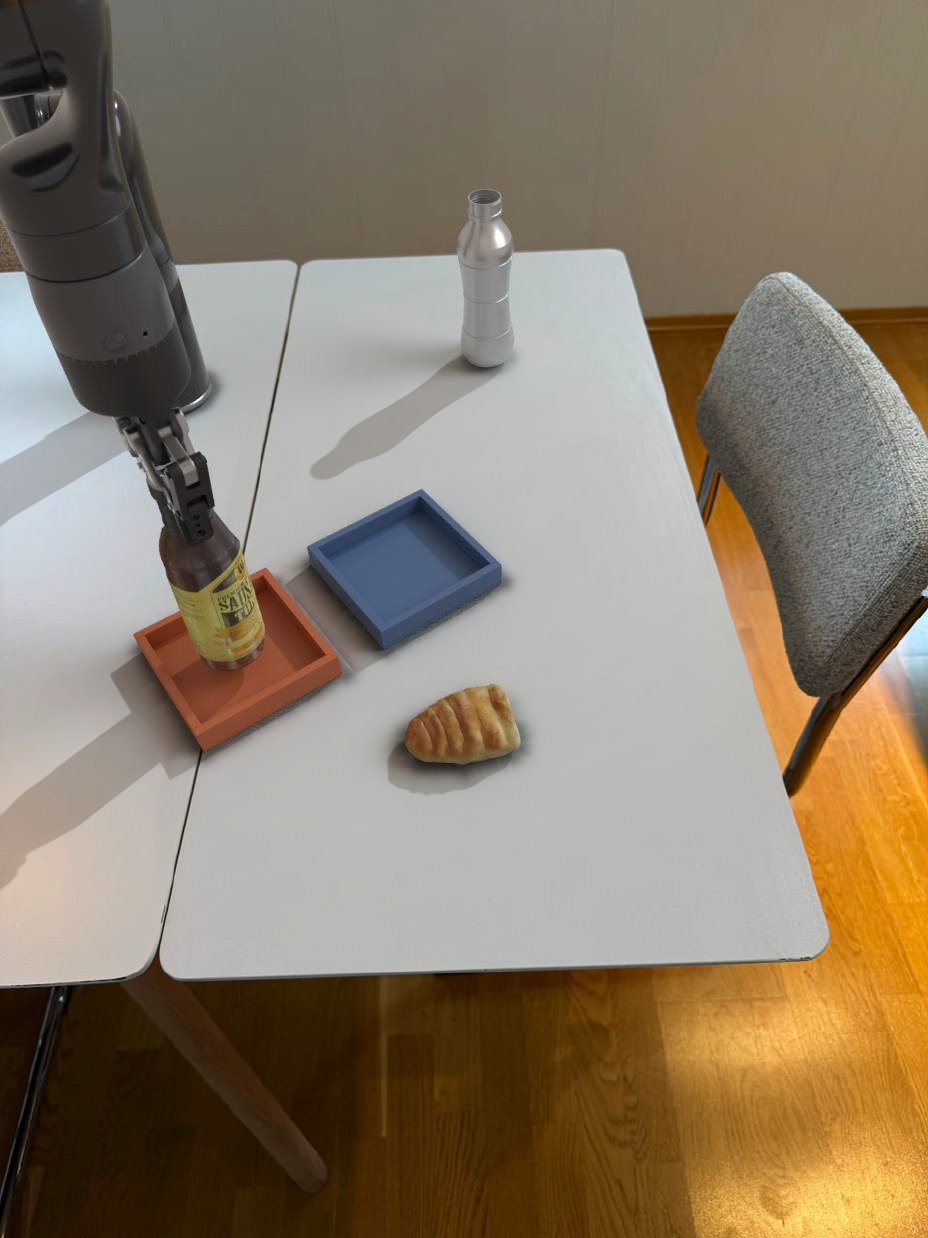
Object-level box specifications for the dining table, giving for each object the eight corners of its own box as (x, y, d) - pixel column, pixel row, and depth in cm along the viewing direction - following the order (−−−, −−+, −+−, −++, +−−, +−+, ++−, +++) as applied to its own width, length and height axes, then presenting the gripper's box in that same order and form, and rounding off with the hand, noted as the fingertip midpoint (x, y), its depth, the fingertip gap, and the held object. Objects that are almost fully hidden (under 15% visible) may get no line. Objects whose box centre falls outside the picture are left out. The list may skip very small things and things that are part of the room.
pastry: (418, 786, 73) (414, 761, 70) (396, 721, 77) (391, 695, 74) (526, 753, 75) (527, 727, 72) (499, 690, 79) (498, 664, 76)
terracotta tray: (141, 651, 83) (132, 633, 81) (271, 584, 88) (266, 566, 86) (204, 752, 76) (196, 735, 74) (342, 673, 81) (338, 656, 79)
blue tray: (310, 564, 89) (306, 546, 87) (423, 506, 94) (421, 488, 92) (383, 650, 82) (380, 632, 80) (502, 582, 87) (502, 564, 85)
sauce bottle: (254, 680, 77) (194, 513, 62) (187, 669, 78) (111, 503, 63) (279, 622, 82) (228, 452, 66) (215, 612, 82) (150, 443, 67)
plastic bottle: (523, 352, 111) (526, 189, 96) (495, 380, 108) (494, 216, 93) (479, 337, 114) (475, 177, 99) (450, 365, 110) (441, 202, 95)
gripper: (217, 351, 53) (274, 554, 66) (124, 255, 60) (193, 454, 74) (95, 399, 50) (180, 601, 63) (14, 293, 58) (106, 493, 71)
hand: (186, 521), depth 68 cm, fingers closed on sauce bottle, 4 cm apart
